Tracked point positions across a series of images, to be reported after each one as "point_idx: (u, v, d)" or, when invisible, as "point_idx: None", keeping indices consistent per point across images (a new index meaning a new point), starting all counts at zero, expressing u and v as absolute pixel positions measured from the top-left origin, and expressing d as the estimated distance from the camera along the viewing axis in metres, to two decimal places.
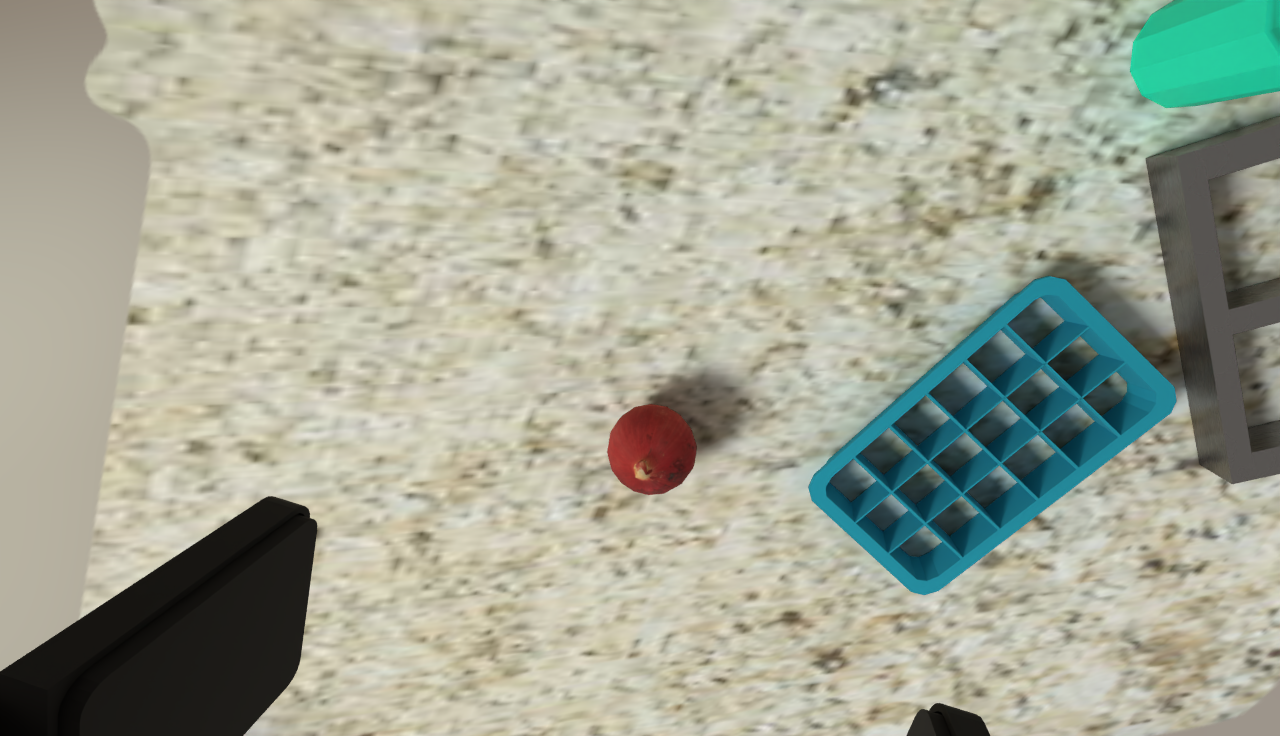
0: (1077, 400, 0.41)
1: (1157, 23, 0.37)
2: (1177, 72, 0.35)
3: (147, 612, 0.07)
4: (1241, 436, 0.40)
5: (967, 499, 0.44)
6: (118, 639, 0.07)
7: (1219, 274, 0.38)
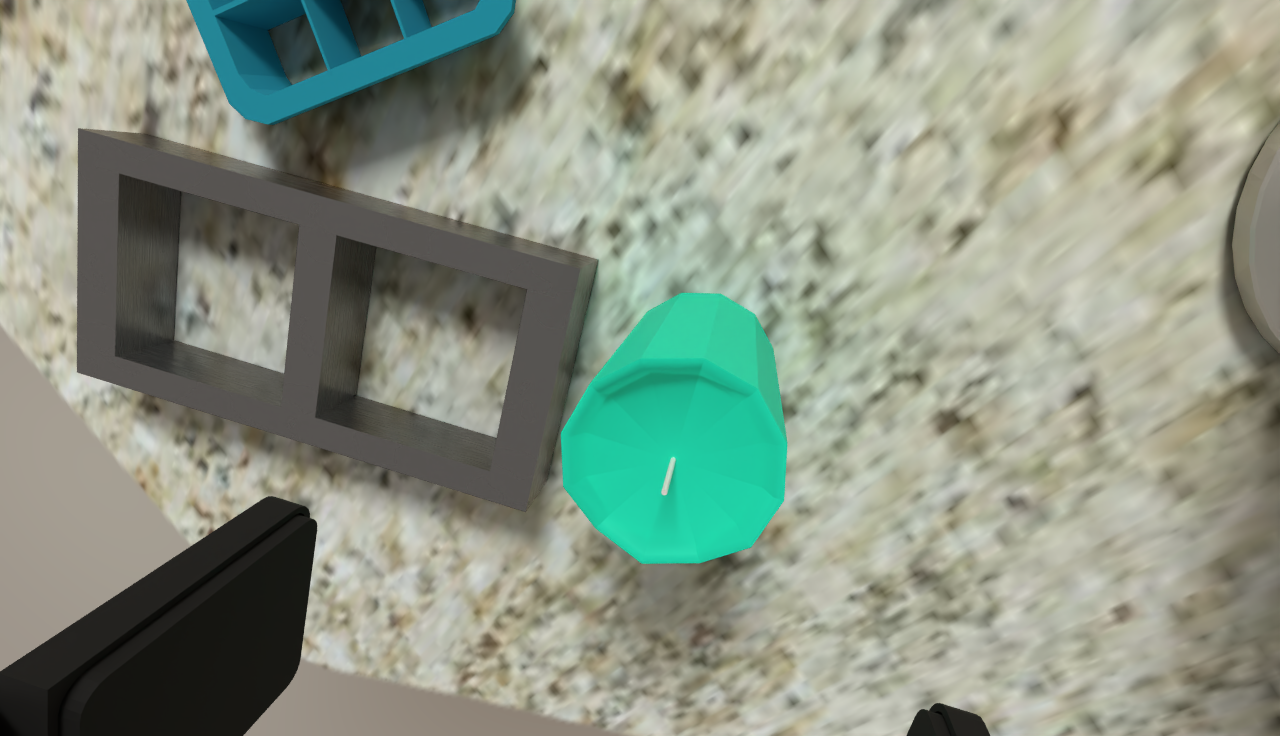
0: None
1: (763, 337, 0.25)
2: (694, 310, 0.23)
3: (147, 612, 0.07)
4: (146, 171, 0.26)
5: None
6: (117, 640, 0.07)
7: (390, 245, 0.25)
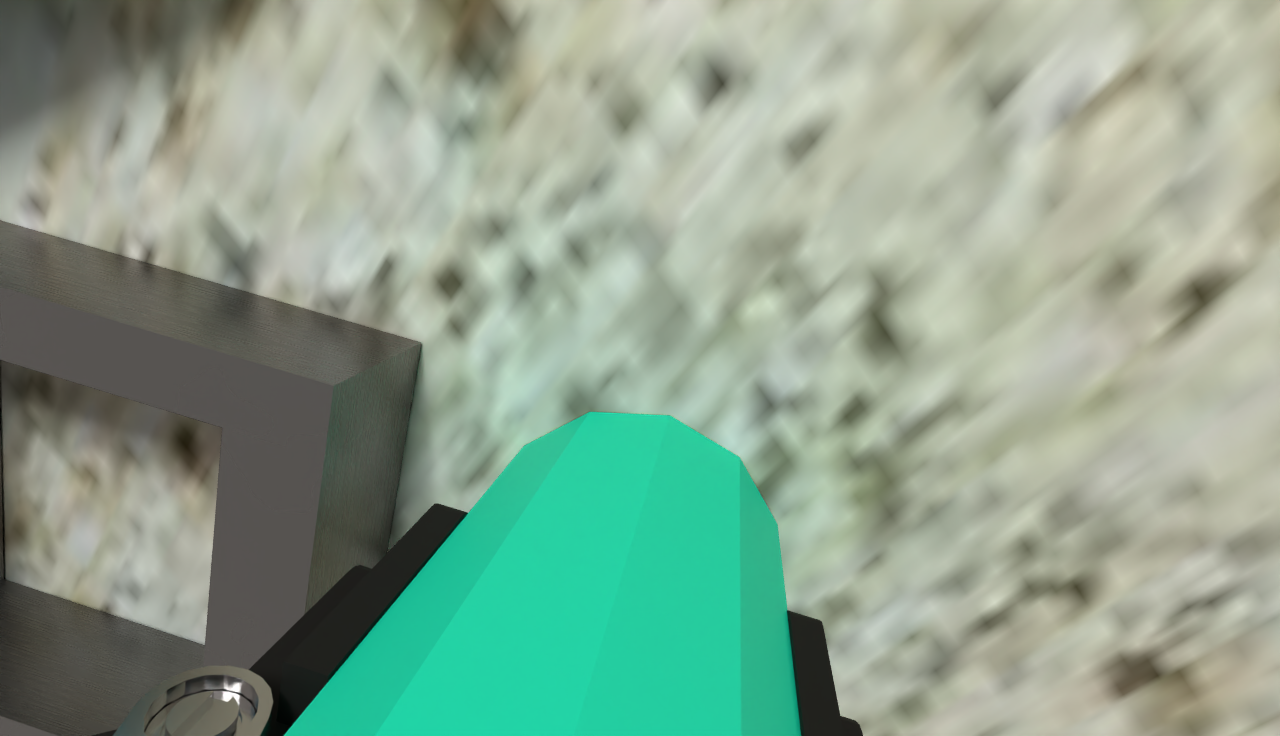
0: None
1: (758, 525, 0.12)
2: (589, 502, 0.09)
3: (378, 608, 0.08)
4: None
5: None
6: (364, 633, 0.08)
7: None
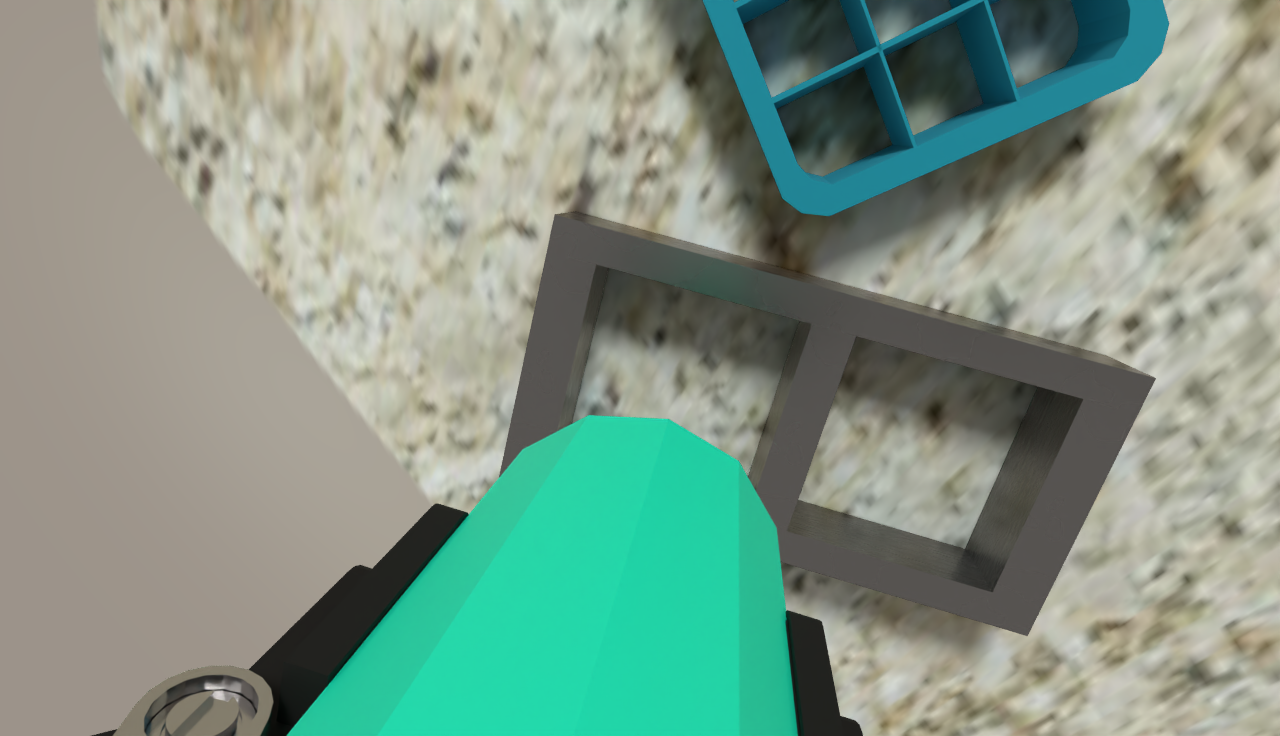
0: (877, 41, 0.21)
1: (758, 529, 0.12)
2: (587, 507, 0.09)
3: (378, 608, 0.08)
4: (631, 262, 0.23)
5: None
6: (365, 632, 0.08)
7: (922, 349, 0.22)
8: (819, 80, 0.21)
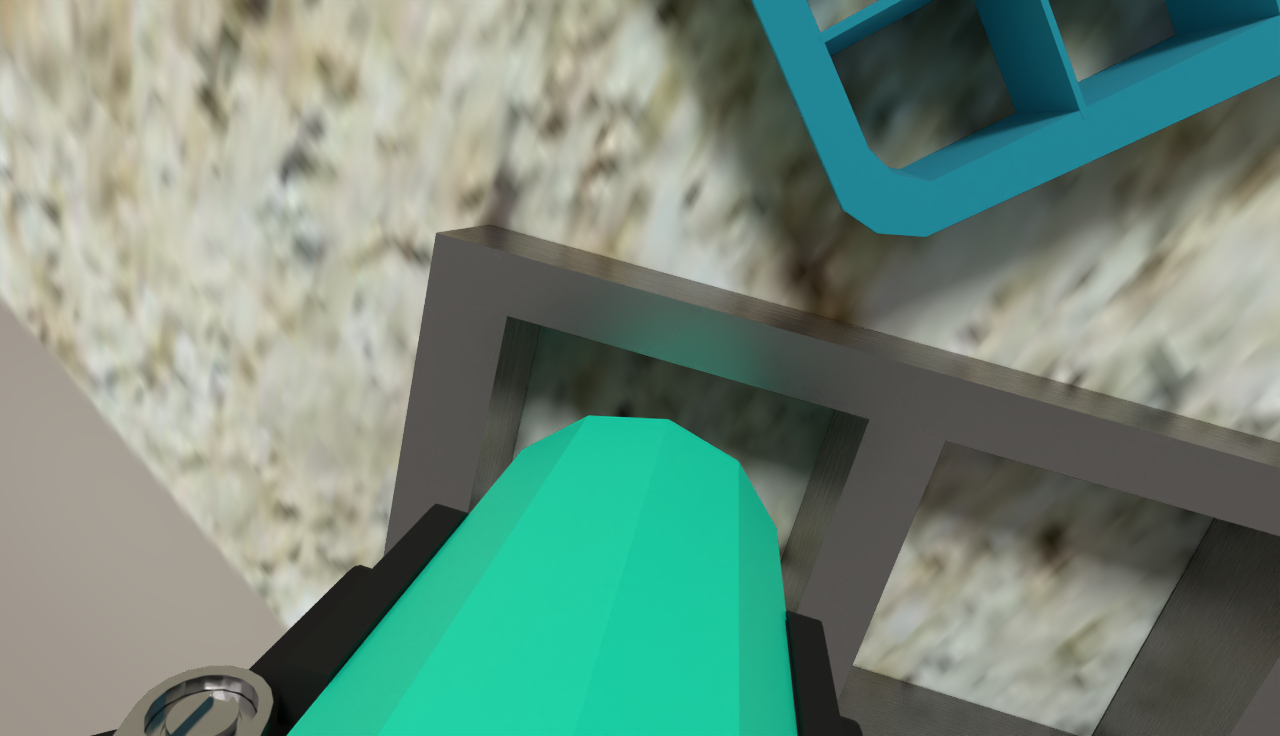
0: None
1: (757, 530, 0.12)
2: (587, 508, 0.09)
3: (378, 608, 0.08)
4: (565, 313, 0.14)
5: None
6: (364, 632, 0.08)
7: (1059, 464, 0.13)
8: None
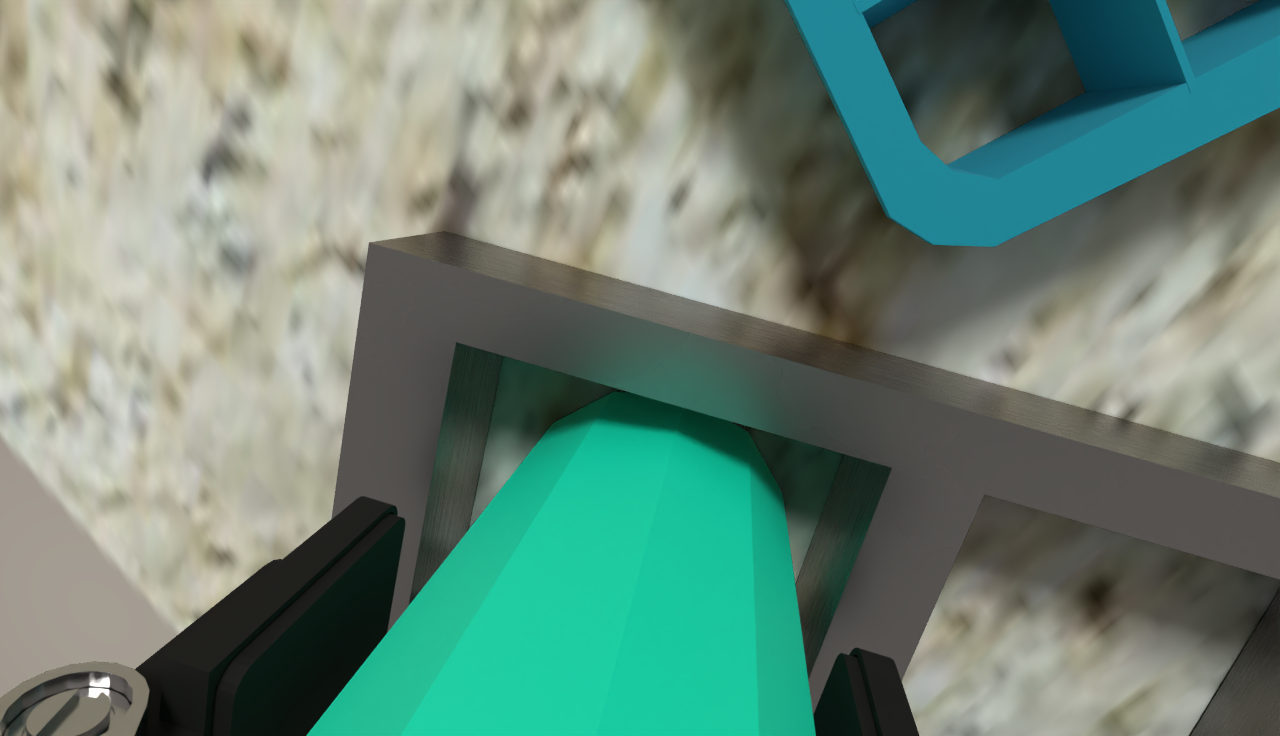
0: None
1: (766, 491, 0.13)
2: (619, 464, 0.11)
3: (277, 603, 0.08)
4: (525, 340, 0.11)
5: None
6: (258, 627, 0.07)
7: (1123, 523, 0.11)
8: None
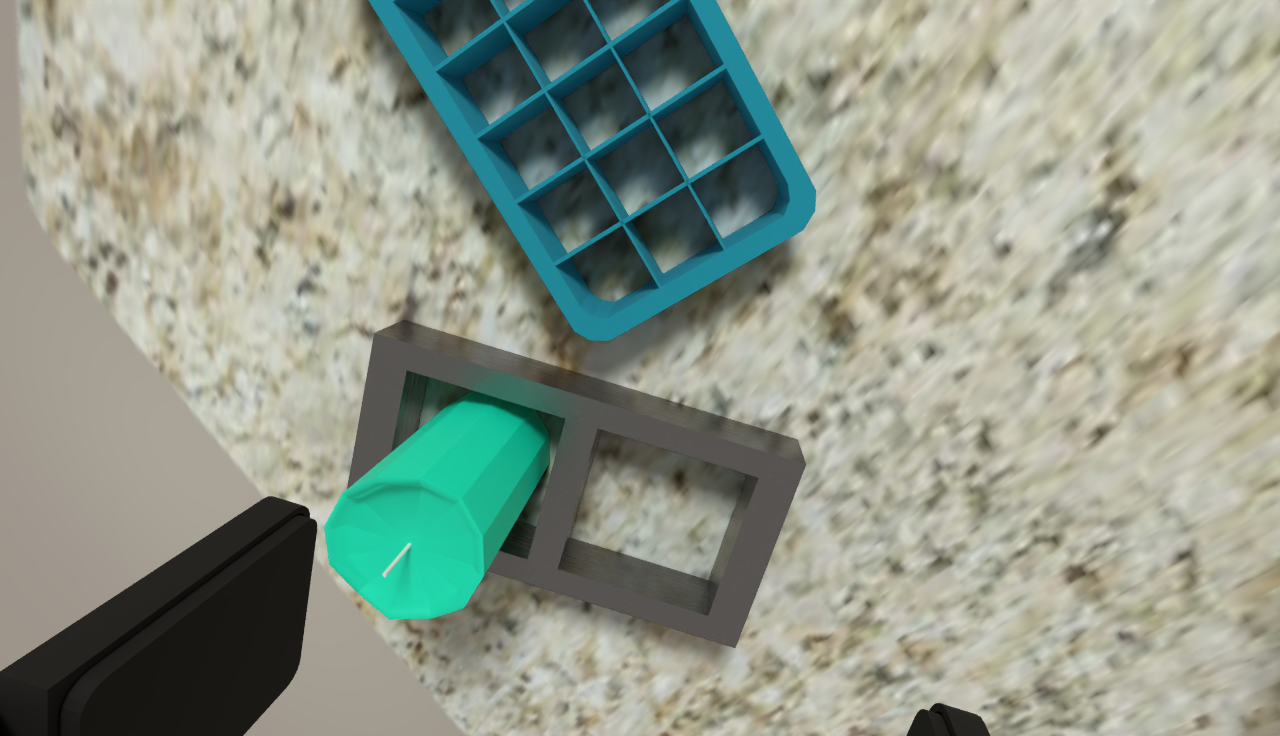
0: (620, 217, 0.28)
1: (533, 429, 0.32)
2: (465, 415, 0.30)
3: (146, 612, 0.07)
4: (432, 370, 0.30)
5: (493, 27, 0.27)
6: (117, 640, 0.07)
7: (644, 439, 0.30)
8: (584, 247, 0.29)
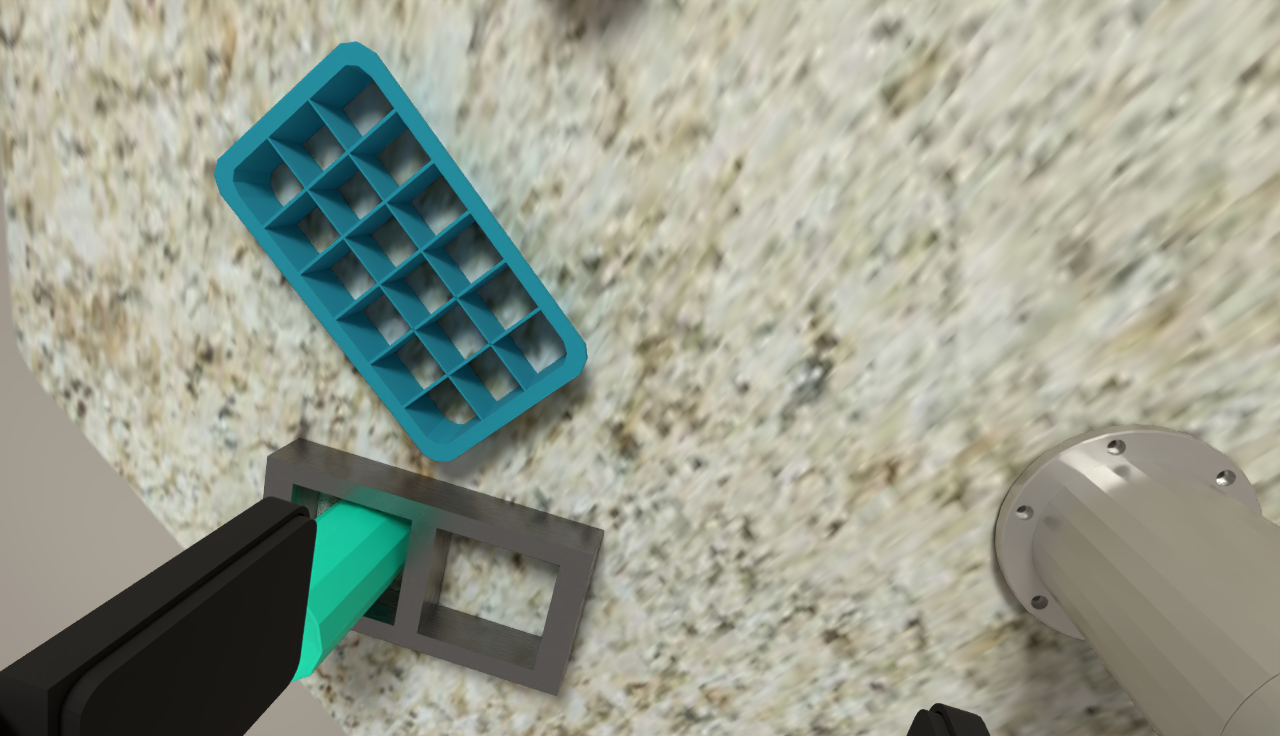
0: (445, 371, 0.37)
1: (396, 524, 0.41)
2: (335, 519, 0.39)
3: (146, 612, 0.07)
4: (312, 483, 0.40)
5: (336, 242, 0.36)
6: (117, 639, 0.07)
7: (472, 535, 0.39)
8: (423, 393, 0.38)
